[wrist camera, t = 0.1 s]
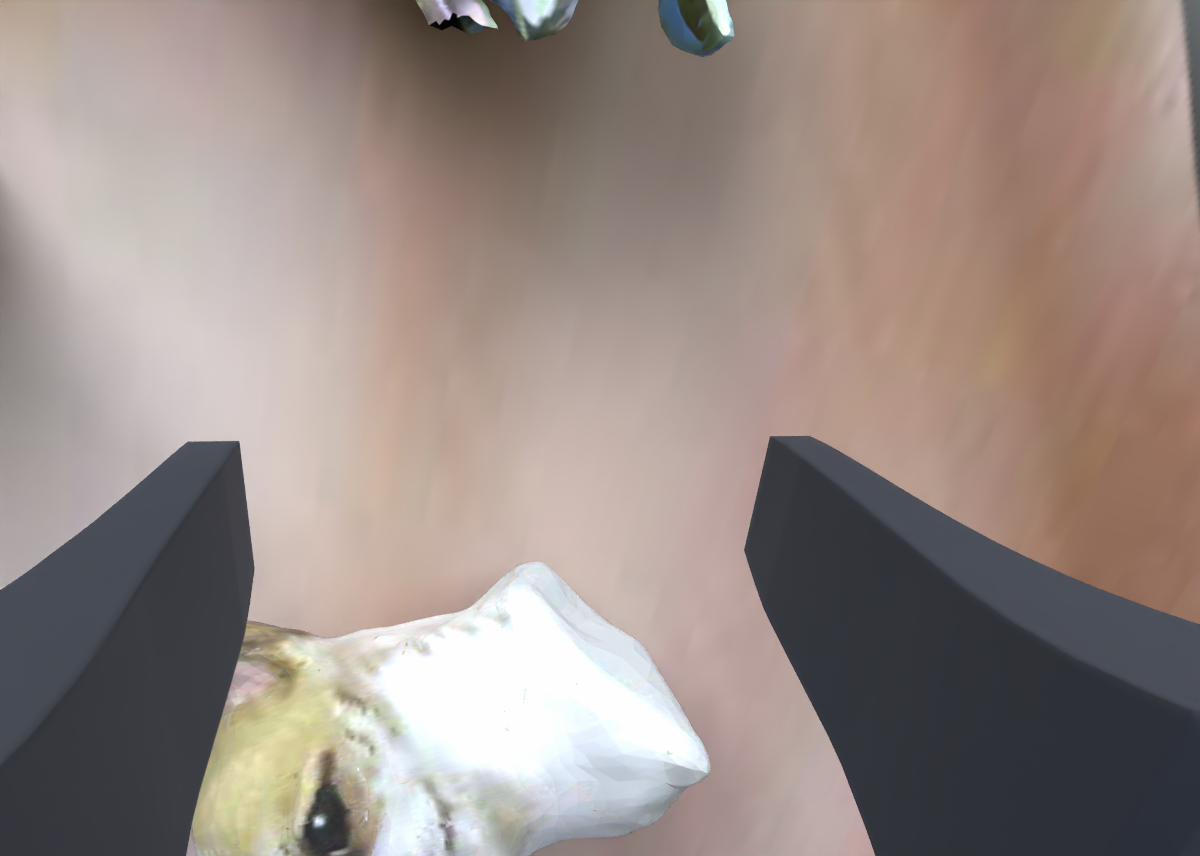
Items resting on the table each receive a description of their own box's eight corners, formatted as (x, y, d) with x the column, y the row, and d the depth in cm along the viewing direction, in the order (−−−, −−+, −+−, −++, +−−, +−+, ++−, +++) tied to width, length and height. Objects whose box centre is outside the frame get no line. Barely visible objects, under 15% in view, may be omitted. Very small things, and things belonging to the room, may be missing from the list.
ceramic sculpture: (786, 996, 19) (134, 1221, 19) (692, 730, 27) (233, 884, 27) (667, 611, 15) (-168, 888, 15) (598, 431, 23) (55, 608, 23)
